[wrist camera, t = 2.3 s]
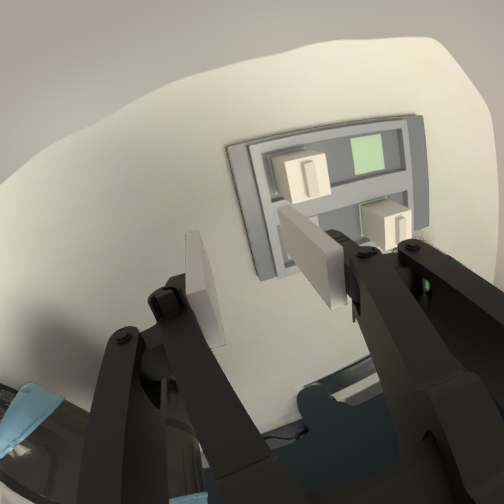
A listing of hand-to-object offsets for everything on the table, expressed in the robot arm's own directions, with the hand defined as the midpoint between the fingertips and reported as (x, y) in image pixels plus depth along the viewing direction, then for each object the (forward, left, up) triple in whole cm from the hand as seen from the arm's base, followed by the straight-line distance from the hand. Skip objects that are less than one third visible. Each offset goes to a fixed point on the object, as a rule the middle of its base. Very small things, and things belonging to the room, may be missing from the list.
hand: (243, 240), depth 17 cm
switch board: (+15, -4, -17) cm, 23 cm away
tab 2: (+18, -8, -15) cm, 25 cm away
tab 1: (+8, 0, -15) cm, 17 cm away
